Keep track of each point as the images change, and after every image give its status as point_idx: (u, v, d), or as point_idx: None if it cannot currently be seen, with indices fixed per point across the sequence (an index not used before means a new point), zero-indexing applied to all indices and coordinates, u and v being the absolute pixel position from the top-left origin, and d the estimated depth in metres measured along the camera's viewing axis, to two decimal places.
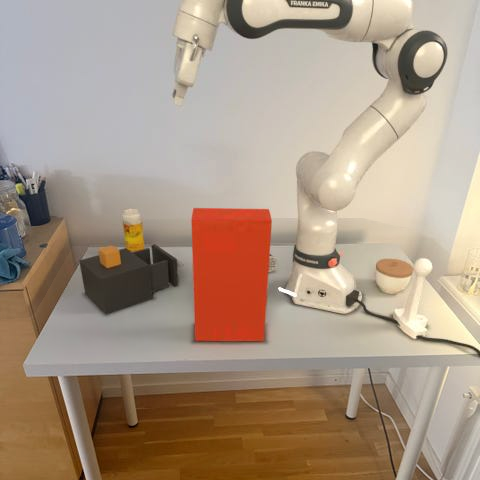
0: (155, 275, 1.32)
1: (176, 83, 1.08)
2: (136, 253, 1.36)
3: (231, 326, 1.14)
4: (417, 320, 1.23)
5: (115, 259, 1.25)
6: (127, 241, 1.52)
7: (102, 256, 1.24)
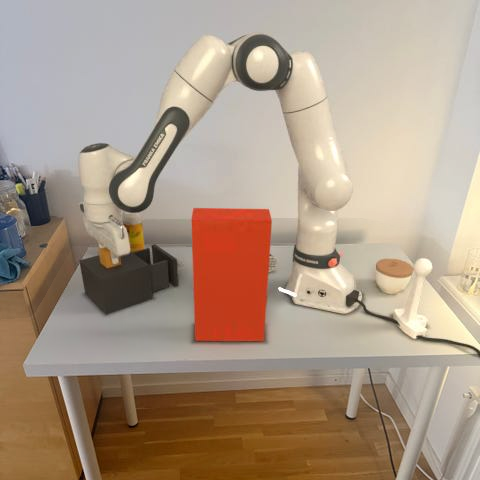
0: (155, 275, 1.32)
1: (101, 245, 1.27)
2: (136, 253, 1.36)
3: (231, 326, 1.14)
4: (417, 320, 1.23)
5: None
6: None
7: (102, 256, 1.24)
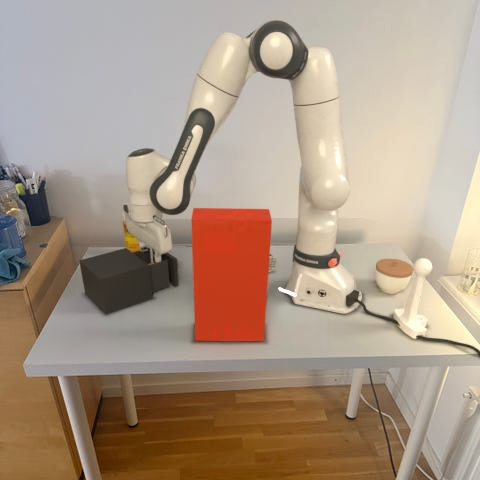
0: (155, 275, 1.32)
1: (140, 242, 1.35)
2: (136, 253, 1.36)
3: (231, 326, 1.14)
4: (417, 320, 1.23)
5: None
6: (127, 241, 1.52)
7: None
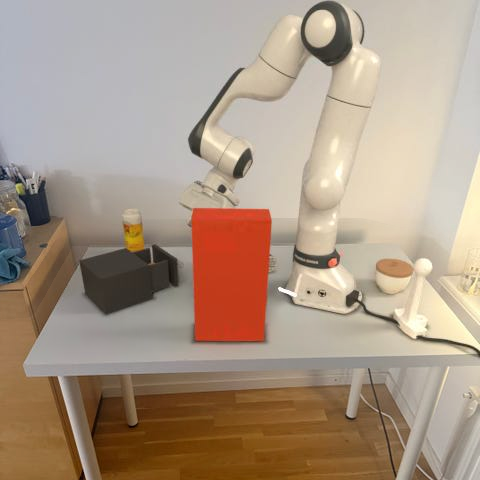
0: (156, 275, 1.32)
1: None
2: (136, 253, 1.36)
3: (231, 326, 1.14)
4: (417, 320, 1.23)
5: None
6: (127, 241, 1.52)
7: None
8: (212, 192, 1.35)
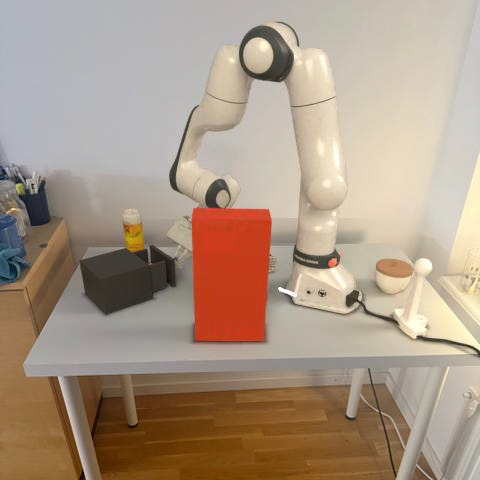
0: (153, 276, 1.31)
1: None
2: None
3: (231, 326, 1.14)
4: (417, 320, 1.23)
5: None
6: (127, 241, 1.52)
7: None
8: None
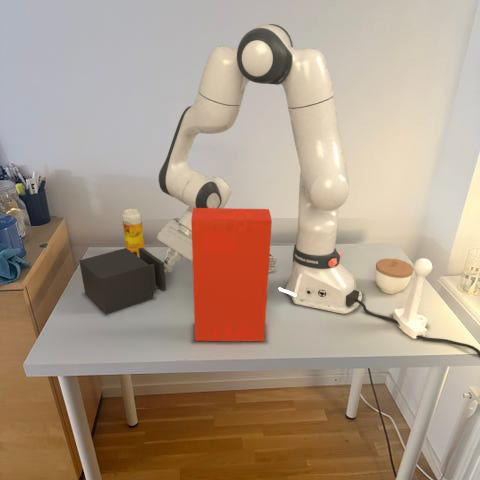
0: None
1: None
2: None
3: (231, 326, 1.14)
4: (417, 320, 1.23)
5: None
6: (127, 241, 1.52)
7: None
8: (188, 231, 1.36)
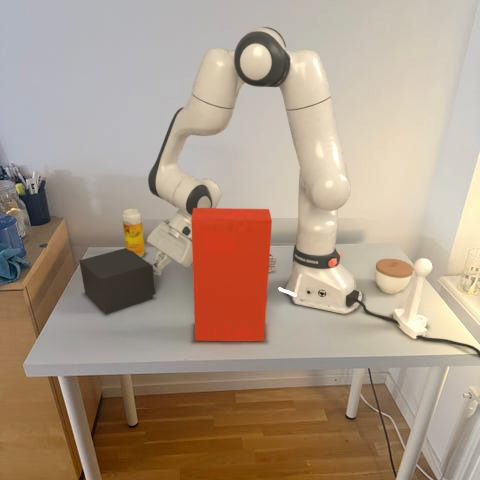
0: None
1: None
2: None
3: (231, 326, 1.14)
4: (417, 320, 1.23)
5: None
6: (127, 241, 1.52)
7: None
8: (178, 233, 1.34)
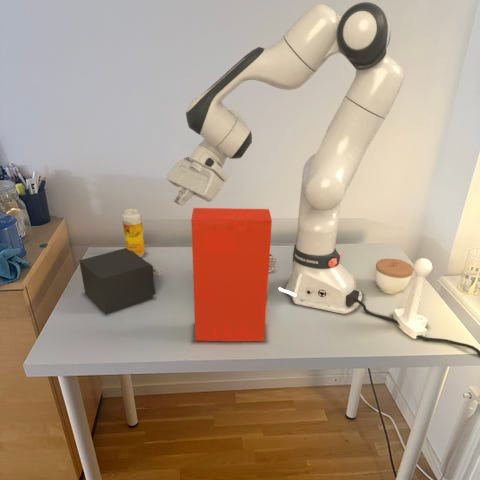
0: None
1: None
2: None
3: (231, 326, 1.14)
4: (417, 320, 1.23)
5: None
6: (127, 241, 1.52)
7: None
8: (200, 166, 1.29)
